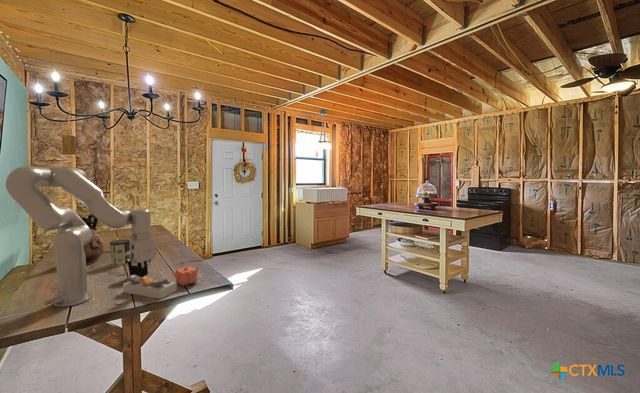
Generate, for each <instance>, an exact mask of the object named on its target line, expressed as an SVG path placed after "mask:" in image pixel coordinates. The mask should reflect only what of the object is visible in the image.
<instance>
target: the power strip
mask: <svg viewBox="0 0 640 393" xmlns="http://www.w3.org/2000/svg"><path fill="white" fill-rule="evenodd" d="M153 279H154V278H153ZM154 280H156V281H157V280H158V279H154ZM177 284H178V283H177V282H176V281H168V282H167V283H164V284H162V285H157V286H150V285H149V286H147V285H144V284H142V283H138V284H134V283H132V282H130V281H127V282H125V283H123V284H122V292H123V293H125V294H130V295H137V296H142V297H148V298H153V299H163V298H166V297H168V296H169V295H171V294H174V293H175V292H177V291H178V289H177V286H178V285H177Z"/></svg>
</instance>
